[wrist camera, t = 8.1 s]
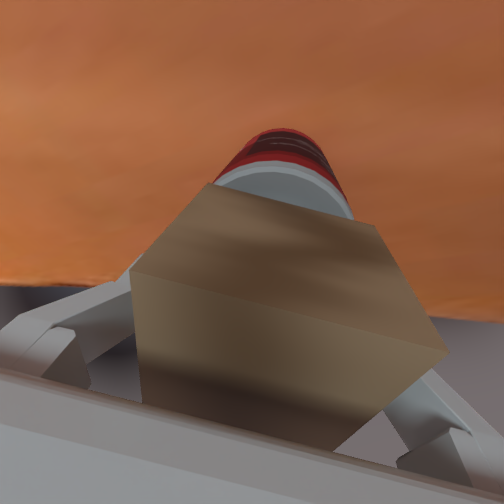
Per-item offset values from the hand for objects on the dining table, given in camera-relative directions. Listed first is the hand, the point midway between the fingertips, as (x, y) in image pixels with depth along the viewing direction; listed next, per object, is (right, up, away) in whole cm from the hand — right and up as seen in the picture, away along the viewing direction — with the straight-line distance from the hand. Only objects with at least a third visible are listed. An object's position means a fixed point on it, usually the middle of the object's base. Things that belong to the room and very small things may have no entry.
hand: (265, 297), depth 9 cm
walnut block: (0, +1, +1) cm, 2 cm away
